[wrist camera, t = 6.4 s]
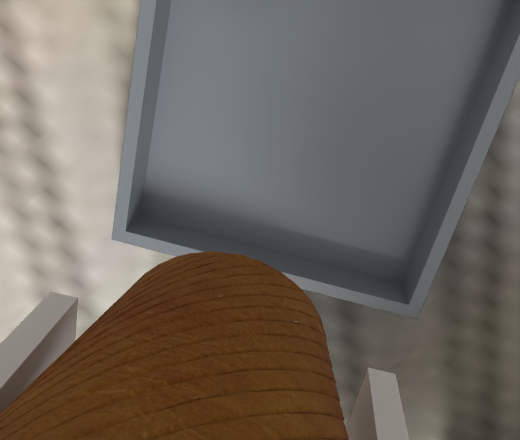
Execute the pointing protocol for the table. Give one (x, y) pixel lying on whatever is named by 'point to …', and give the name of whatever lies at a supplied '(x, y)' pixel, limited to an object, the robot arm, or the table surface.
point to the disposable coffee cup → (191, 363)
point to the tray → (314, 134)
